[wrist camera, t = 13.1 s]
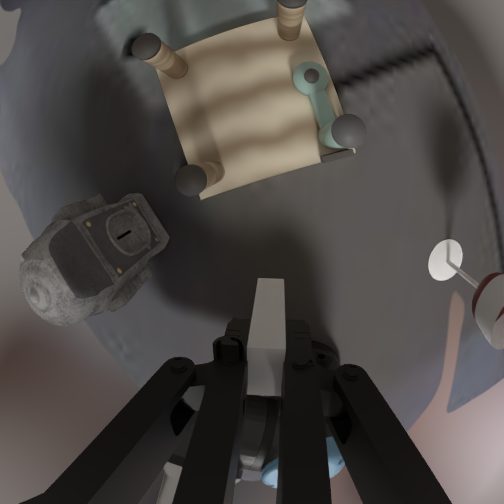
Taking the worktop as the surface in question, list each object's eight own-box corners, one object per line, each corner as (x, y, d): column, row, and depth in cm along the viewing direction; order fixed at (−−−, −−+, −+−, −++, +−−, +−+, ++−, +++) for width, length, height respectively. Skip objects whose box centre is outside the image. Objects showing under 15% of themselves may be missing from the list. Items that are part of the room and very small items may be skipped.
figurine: (132, 176, 42) (12, 212, 19) (181, 251, 46) (100, 347, 22) (94, 210, 45) (-18, 263, 21) (139, 278, 48) (54, 370, 24)
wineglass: (419, 277, 44) (480, 346, 25) (439, 229, 41) (515, 279, 22) (451, 287, 44) (511, 351, 25) (470, 243, 41) (543, 293, 22)
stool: (351, 152, 38) (384, 154, 26) (205, 196, 42) (174, 217, 30) (300, 18, 32) (308, -29, 19) (159, 65, 36) (115, 38, 23)
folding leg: (287, 70, 33) (291, 42, 23) (319, 62, 32) (332, 33, 22) (318, 152, 36) (334, 153, 26) (349, 144, 35) (375, 142, 25)
